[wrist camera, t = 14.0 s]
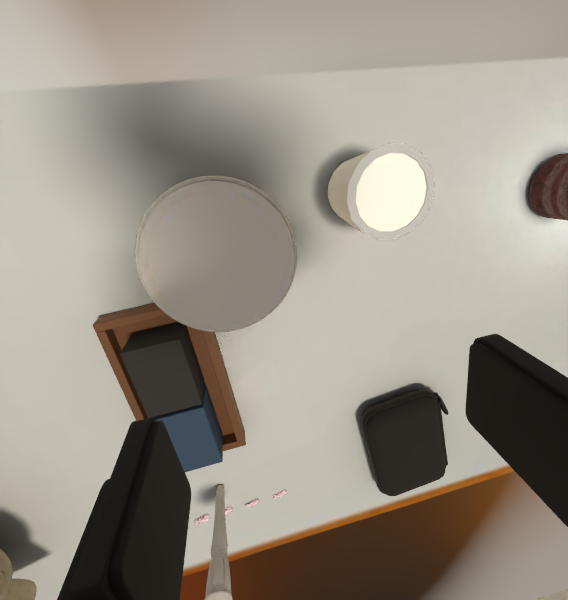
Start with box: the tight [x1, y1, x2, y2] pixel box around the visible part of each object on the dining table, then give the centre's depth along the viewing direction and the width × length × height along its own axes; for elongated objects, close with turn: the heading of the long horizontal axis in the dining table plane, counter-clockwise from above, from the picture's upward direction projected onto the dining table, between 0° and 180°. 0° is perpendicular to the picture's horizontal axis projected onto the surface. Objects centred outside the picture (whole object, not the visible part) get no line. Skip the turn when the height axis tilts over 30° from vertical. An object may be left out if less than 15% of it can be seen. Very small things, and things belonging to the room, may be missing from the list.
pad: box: [120, 322, 204, 418], centre depth 31 cm, size 7×5×4 cm
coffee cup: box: [135, 176, 297, 332], centre depth 24 cm, size 9×9×12 cm
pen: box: [205, 485, 232, 600], centre depth 34 cm, size 2×3×14 cm
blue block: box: [154, 383, 223, 472], centre depth 34 cm, size 7×5×4 cm
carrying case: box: [361, 389, 448, 496], centre depth 41 cm, size 11×3×15 cm
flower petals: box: [194, 490, 287, 526], centre depth 42 cm, size 15×2×1 cm, turn 103°
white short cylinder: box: [328, 143, 435, 240], centre depth 27 cm, size 7×7×7 cm
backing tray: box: [93, 303, 246, 451], centre depth 33 cm, size 18×10×2 cm, turn 11°
